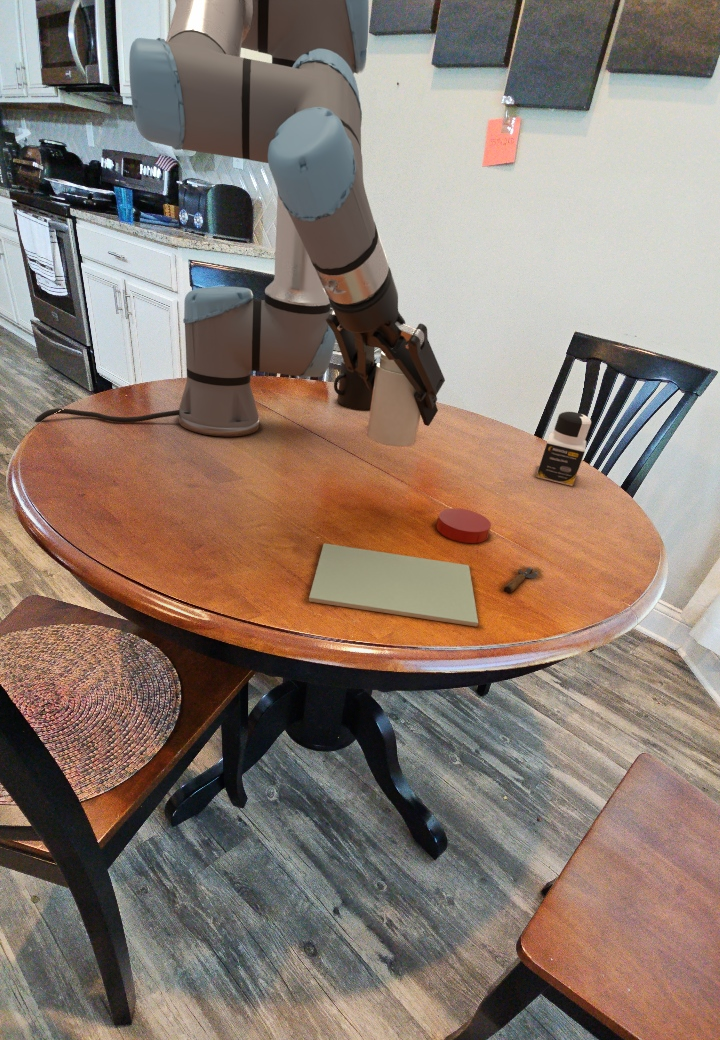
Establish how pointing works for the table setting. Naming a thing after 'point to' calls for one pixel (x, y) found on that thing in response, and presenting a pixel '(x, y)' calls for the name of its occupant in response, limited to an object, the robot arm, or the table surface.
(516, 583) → the can opener
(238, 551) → the table surface
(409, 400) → the jar
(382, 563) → the mat
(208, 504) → the table surface
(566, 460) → the medicine bottle
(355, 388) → the mug
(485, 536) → the lid
